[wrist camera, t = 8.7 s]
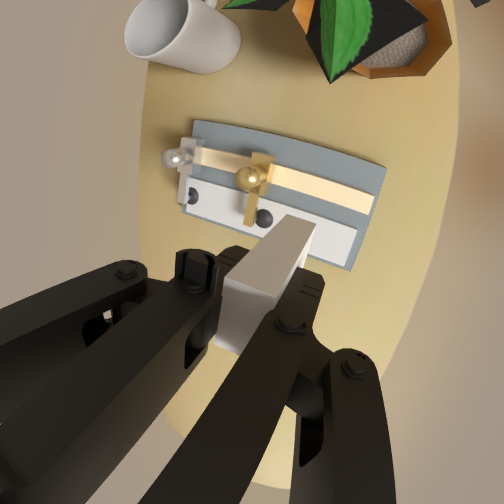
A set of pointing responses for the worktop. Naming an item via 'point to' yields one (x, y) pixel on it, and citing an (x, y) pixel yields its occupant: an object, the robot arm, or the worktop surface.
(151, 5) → the mug
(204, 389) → the worktop surface
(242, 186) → the brass slider pointer
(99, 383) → the robot arm
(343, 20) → the potted plant
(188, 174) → the fixed leg
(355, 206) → the board
